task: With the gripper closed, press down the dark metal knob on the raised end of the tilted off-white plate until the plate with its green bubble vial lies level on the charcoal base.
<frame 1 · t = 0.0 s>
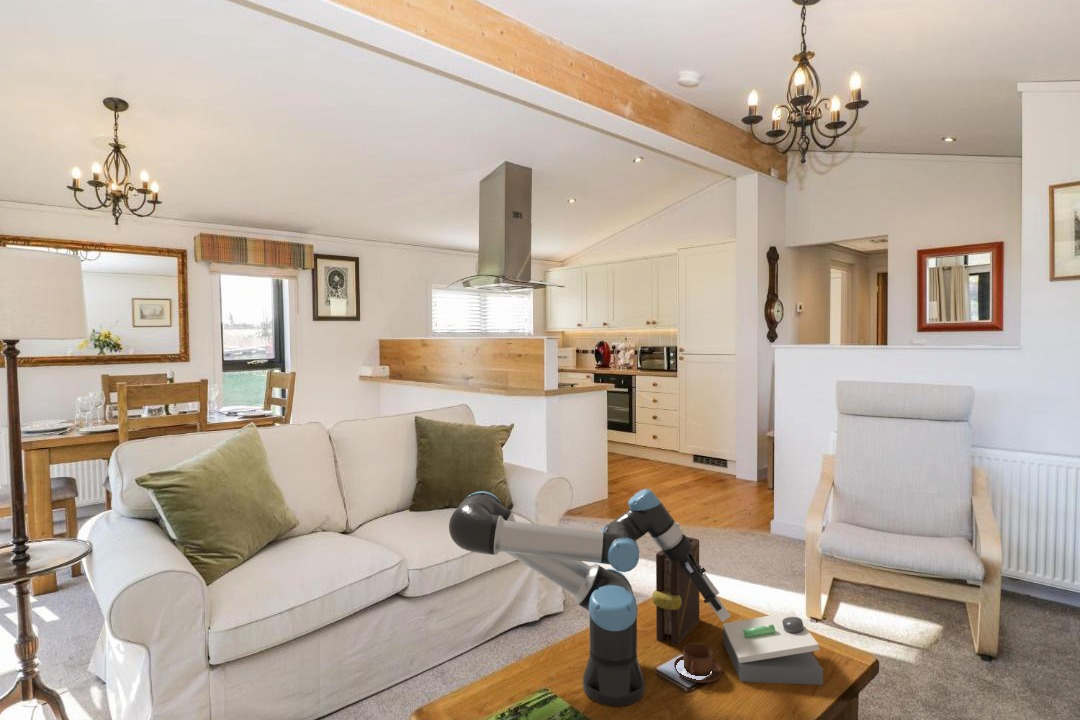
hand: (720, 606, 156), 15 cm above the table, tool tilted 35°, fingers open, 13 cm apart
level plate: (767, 632, 156), point 8 cm above the table, hinge at 12.0°
cup and saucer: (697, 674, 151), on the table
level base: (769, 661, 156), on the table
book: (677, 632, 173), on the table
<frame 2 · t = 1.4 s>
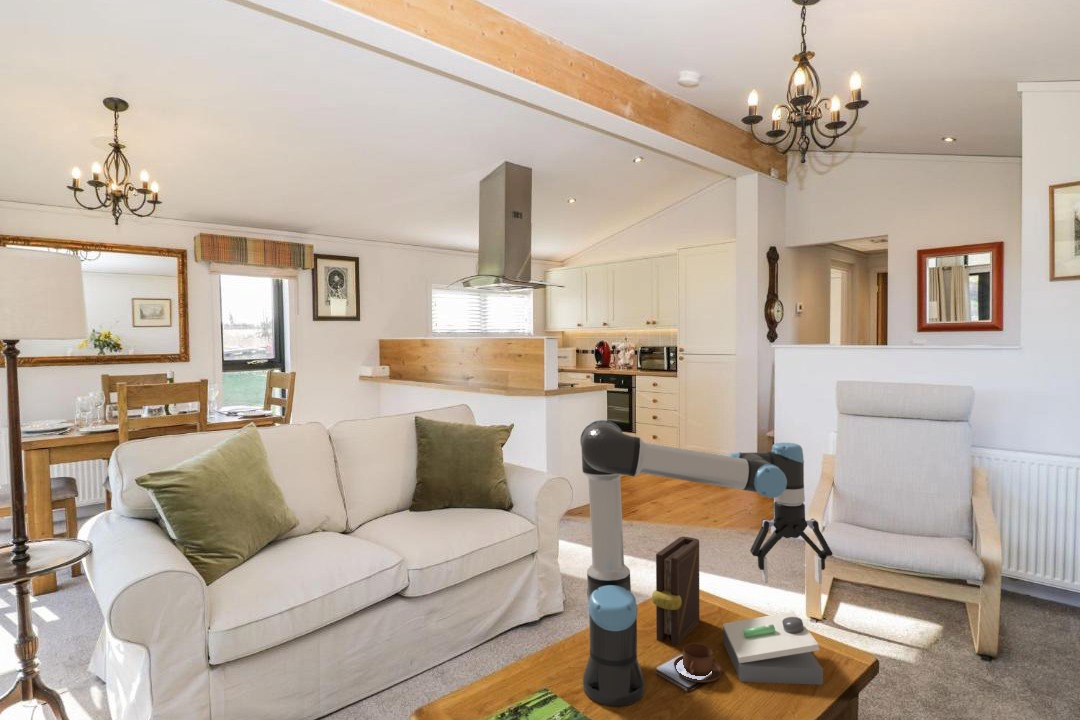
hand: (791, 581, 155), 22 cm above the table, tool pointing down, fingers open, 13 cm apart
nothing on the table moved.
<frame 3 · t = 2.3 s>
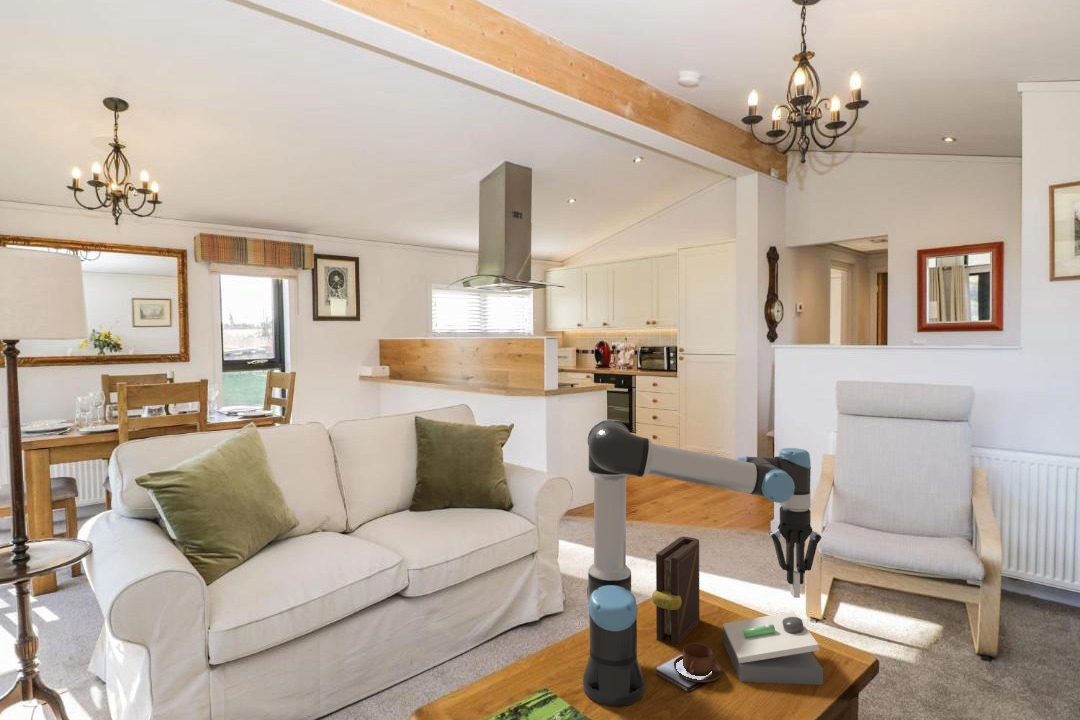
hand: (795, 595, 155), 18 cm above the table, tool pointing down, fingers closed
nothing on the table moved.
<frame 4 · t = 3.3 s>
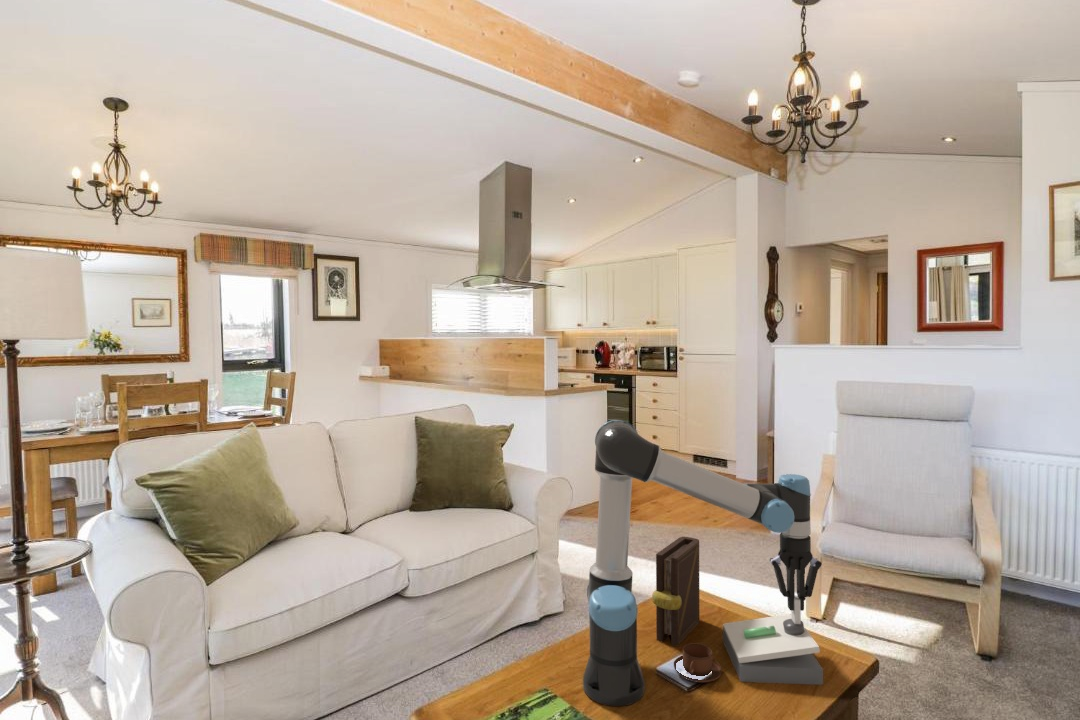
hand: (796, 621, 155), 11 cm above the table, tool pointing down, fingers closed
level plate: (767, 633, 156), point 8 cm above the table, hinge at 10.3°, touching gripper
everything else where it was.
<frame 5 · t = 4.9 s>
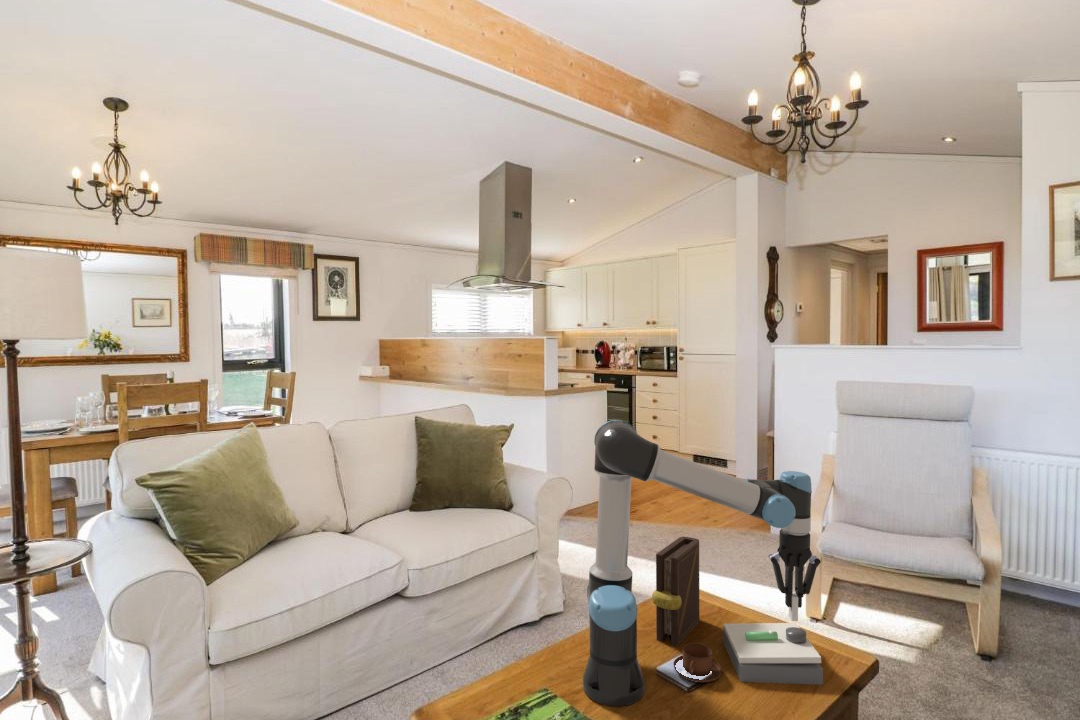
hand: (793, 618, 156), 12 cm above the table, tool pointing down, fingers closed
level plate: (769, 638, 156), point 6 cm above the table, hinge at 2.4°
everything else where it was.
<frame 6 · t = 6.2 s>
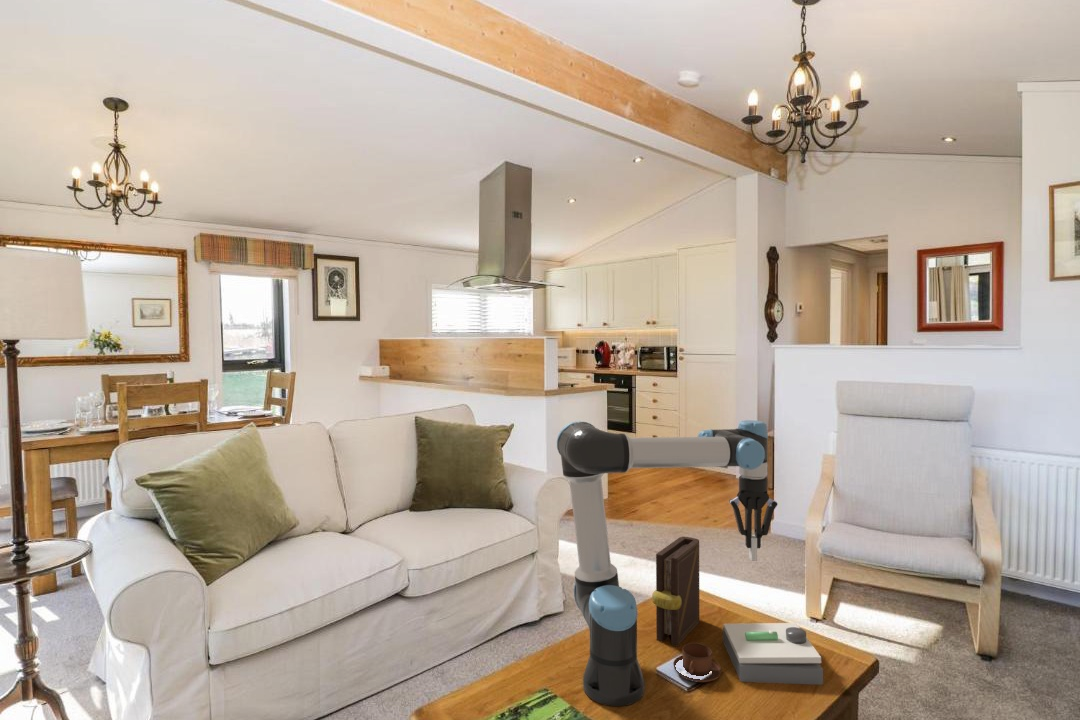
hand: (753, 559, 165), 24 cm above the table, tool pointing down, fingers closed
nothing on the table moved.
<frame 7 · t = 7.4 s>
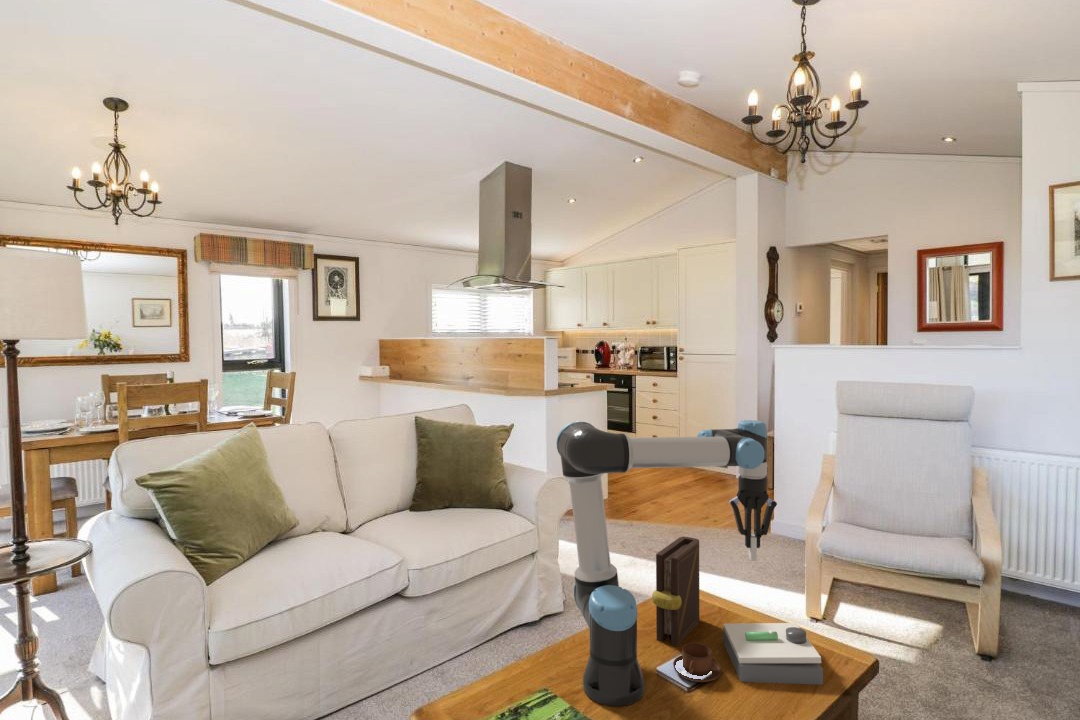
hand: (752, 558, 165), 24 cm above the table, tool pointing down, fingers closed
nothing on the table moved.
at the end: level plate at +2° (first picture: +12°); the gripper is holding nothing; cup and saucer moved 0.5 cm from its start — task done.
